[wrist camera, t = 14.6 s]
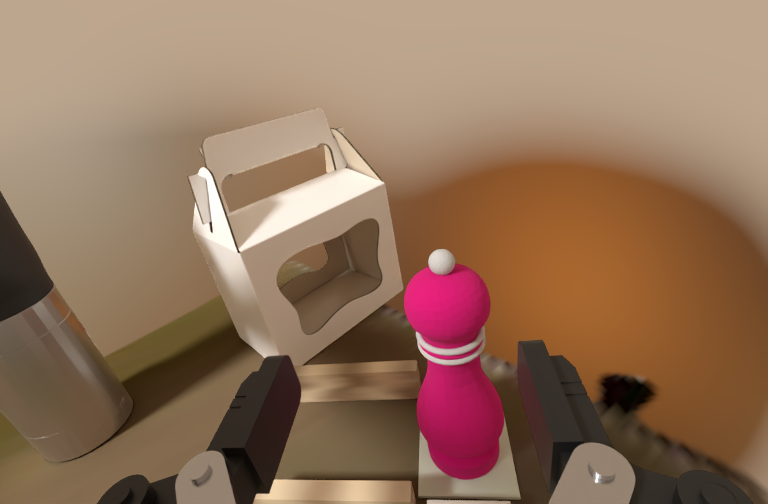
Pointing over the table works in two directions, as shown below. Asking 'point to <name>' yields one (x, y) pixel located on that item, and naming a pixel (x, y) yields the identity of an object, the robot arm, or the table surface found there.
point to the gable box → (296, 237)
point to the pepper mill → (454, 367)
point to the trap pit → (465, 502)
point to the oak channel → (350, 383)
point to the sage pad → (488, 486)
